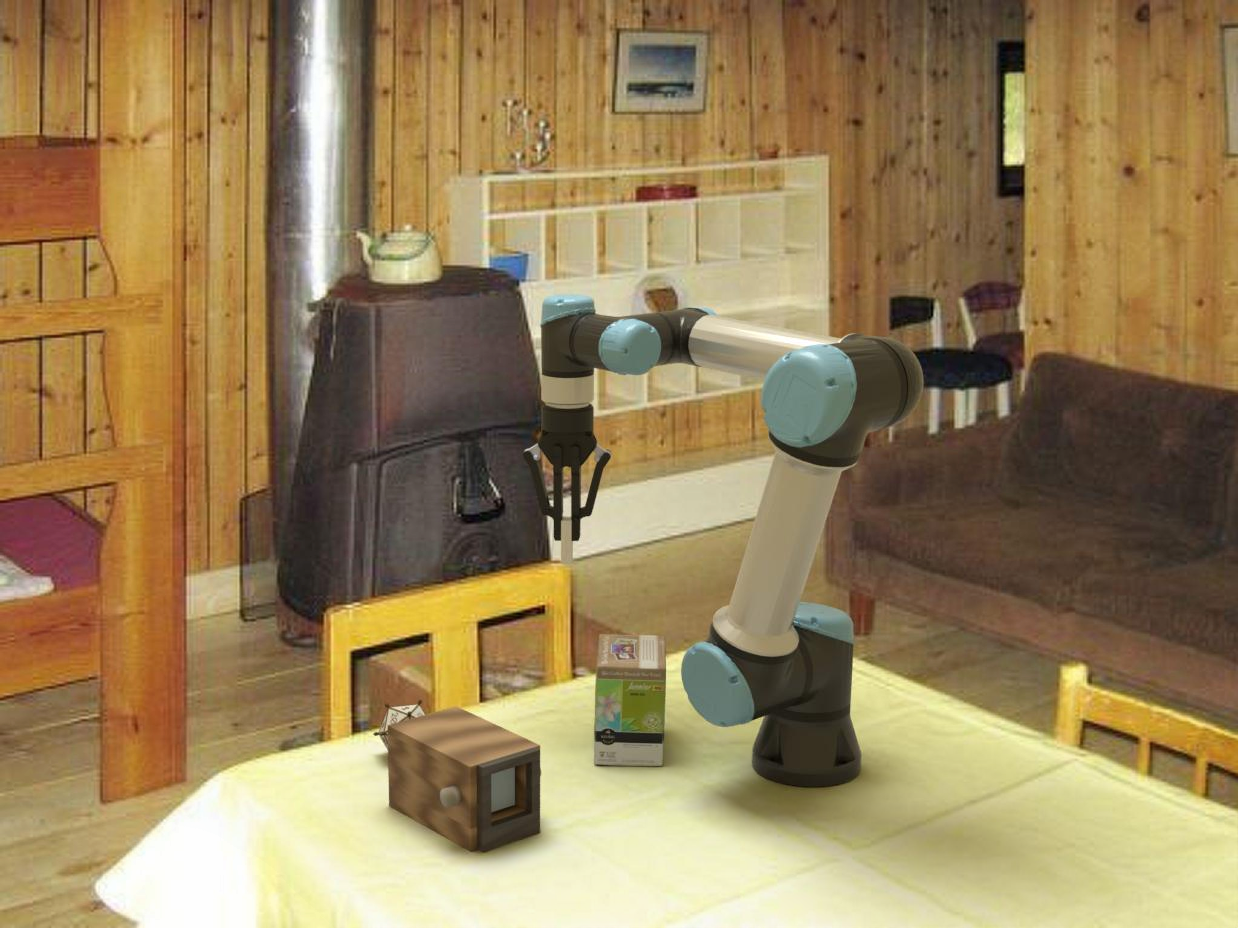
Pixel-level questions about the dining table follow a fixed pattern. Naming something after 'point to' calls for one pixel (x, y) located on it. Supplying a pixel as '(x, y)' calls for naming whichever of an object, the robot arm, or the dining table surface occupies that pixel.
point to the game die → (398, 718)
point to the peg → (502, 789)
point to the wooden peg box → (463, 777)
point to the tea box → (630, 700)
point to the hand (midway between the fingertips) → (566, 561)
